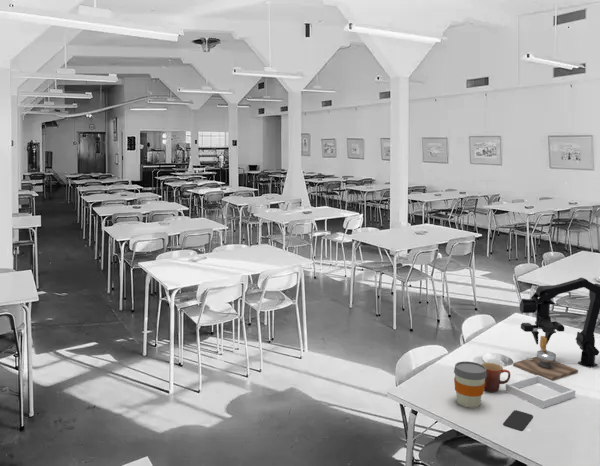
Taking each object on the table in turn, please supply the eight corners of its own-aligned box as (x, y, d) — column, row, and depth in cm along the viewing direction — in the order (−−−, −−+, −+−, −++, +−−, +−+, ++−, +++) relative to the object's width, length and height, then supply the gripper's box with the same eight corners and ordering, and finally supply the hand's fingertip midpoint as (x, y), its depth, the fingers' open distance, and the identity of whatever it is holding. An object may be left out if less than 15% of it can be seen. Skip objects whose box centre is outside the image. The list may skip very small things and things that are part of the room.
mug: (479, 391, 231) (480, 368, 229) (479, 383, 239) (481, 361, 238) (509, 396, 227) (511, 373, 225) (508, 388, 235) (510, 365, 234)
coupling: (533, 351, 267) (534, 335, 265) (550, 352, 265) (552, 337, 264) (538, 361, 253) (539, 345, 252) (556, 363, 251) (558, 347, 250)
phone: (501, 424, 203) (514, 409, 214) (501, 426, 203) (514, 411, 215) (522, 430, 198) (534, 415, 210) (522, 432, 198) (533, 417, 210)
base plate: (539, 358, 270) (540, 349, 270) (577, 372, 253) (578, 363, 252) (513, 365, 260) (513, 356, 259) (550, 381, 243) (551, 371, 242)
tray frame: (536, 381, 243) (537, 374, 242) (574, 397, 228) (575, 390, 227) (505, 390, 232) (505, 384, 232) (542, 408, 217) (543, 401, 216)
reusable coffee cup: (480, 412, 212) (482, 376, 210) (448, 404, 219) (450, 368, 217) (487, 400, 223) (490, 365, 221) (457, 392, 229) (459, 358, 227)
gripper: (529, 318, 254) (528, 350, 256) (570, 317, 253) (568, 349, 255) (520, 311, 265) (519, 342, 267) (559, 310, 264) (558, 341, 266)
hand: (541, 344), depth 264 cm, fingers open, 4 cm apart
